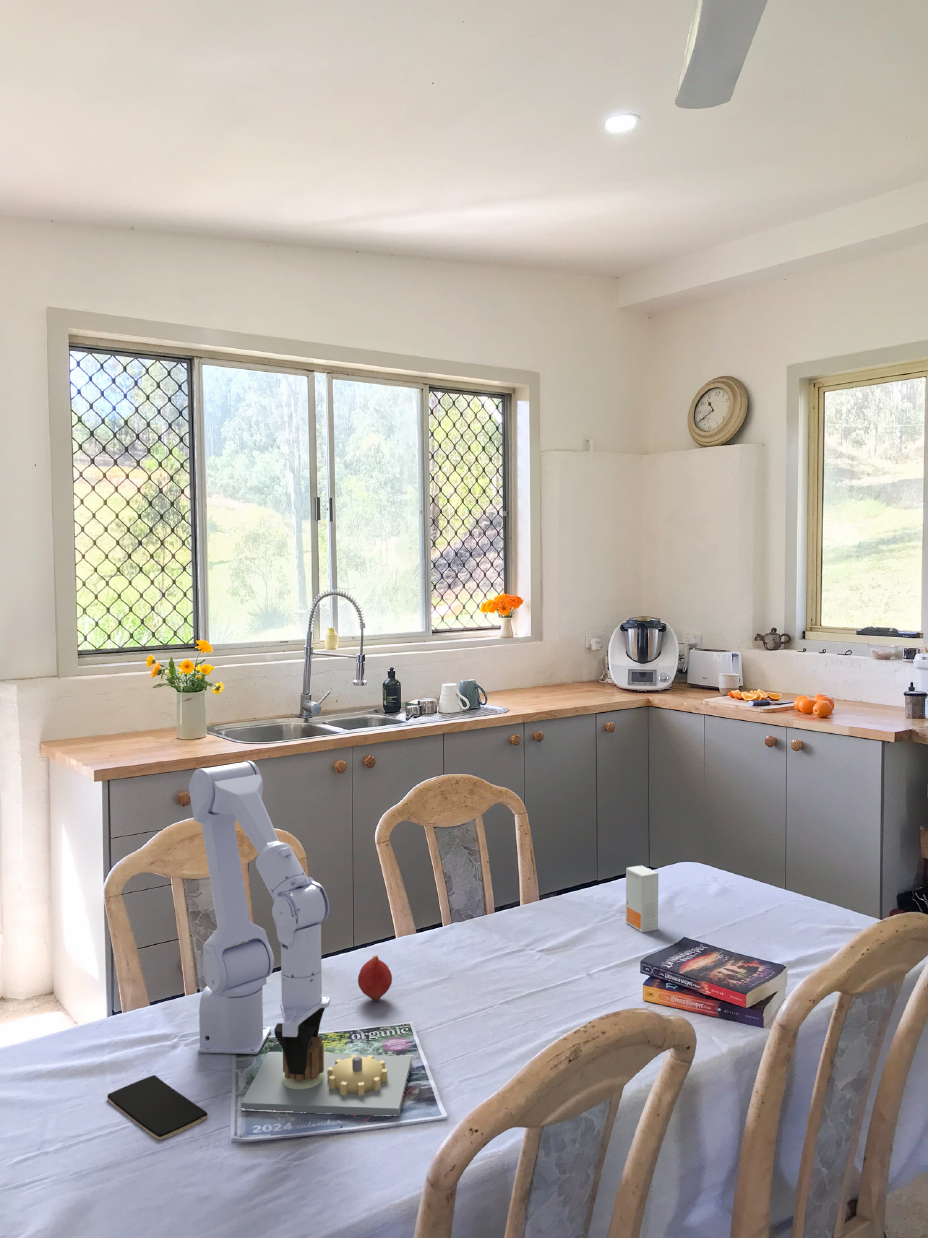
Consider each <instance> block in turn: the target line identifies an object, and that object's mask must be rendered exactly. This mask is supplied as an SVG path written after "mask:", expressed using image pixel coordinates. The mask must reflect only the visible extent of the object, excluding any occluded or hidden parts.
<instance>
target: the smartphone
mask: <svg viewBox="0 0 928 1238" xmlns="http://www.w3.org/2000/svg"><path fill="white" fill-rule="evenodd" d="M107 1101H108V1102H109V1103H110V1104H112V1105H113V1106H114V1107H115V1108H117V1109H118V1110H119V1111H121V1113H123V1114H124V1115H126V1117H128V1118H129V1119H130V1120H132V1121H133V1122H134V1123H135V1124H137V1125H138V1126H139V1127H140V1128H142V1129H143V1130H144V1131H146V1132H147V1134H148V1133H149V1135H151V1136H152V1137H153V1138H155V1139H157V1140H158V1141H159V1140H164V1139H168V1138H171V1137H173V1136H175V1135H177V1134H179V1133H181V1132H184V1131H185V1130H188V1129H190V1128H192V1127H194V1126H196V1125H197V1124H199V1123H201V1122H203V1121H205V1120H206V1119H207V1118H208V1116H209V1115H208V1114H209V1113H208V1112H207V1111H206V1110H205V1109H203V1108H202V1107H200V1106H199V1105H197V1104H196V1103H194V1102H193V1101H191V1100H189V1098H187V1097H185V1096H184V1095H183V1094H181V1093H180V1092H178V1091H177V1090H175V1089H174V1088H173V1087H172V1086H170V1085H168V1084H167V1083H166V1082H164V1081H163V1080H162V1079H161V1078H159V1077H158V1076H157V1075H155V1074H153V1075H151V1076H148V1077H144V1078H142V1079H140V1080H137V1081H136V1082H133V1083H130V1084H128V1085H124V1087H121V1088H118V1089H117V1090H114V1091H112V1092H110V1093H108V1094H107Z"/></svg>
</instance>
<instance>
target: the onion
mask: <svg viewBox="0 0 928 1238" xmlns="http://www.w3.org/2000/svg"><path fill="white" fill-rule="evenodd" d="M392 983H393V976H392V972H391V970H390V968H389V966H388V964H387V963H385V962H384V961H382V960H381V959H379V956H378V954H376V955H373V957H371V958H370V959H369V960H368V961H366V963H364V964H363V966H362V967H361V969H360V970H359V974H358V977H357V984H358V987H359V989H360V990H361V992H362V993H363V994H364V995H365V996H366V997H367V998H369V999H371V1000H372V1001H375V1002H377V1001H378V1000H380V999H381V998H382V997H384V995H385V994H386V993H388V991H389V989H390V987H391V985H392Z"/></svg>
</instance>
